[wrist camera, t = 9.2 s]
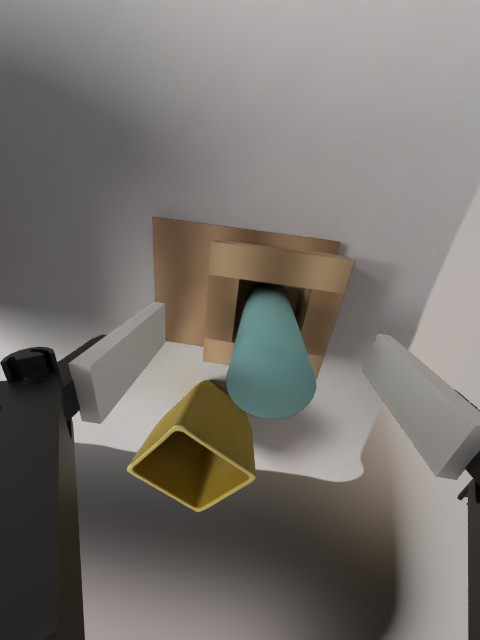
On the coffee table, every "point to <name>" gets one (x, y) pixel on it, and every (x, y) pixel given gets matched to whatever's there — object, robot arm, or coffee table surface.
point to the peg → (270, 357)
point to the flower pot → (198, 449)
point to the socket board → (243, 283)
